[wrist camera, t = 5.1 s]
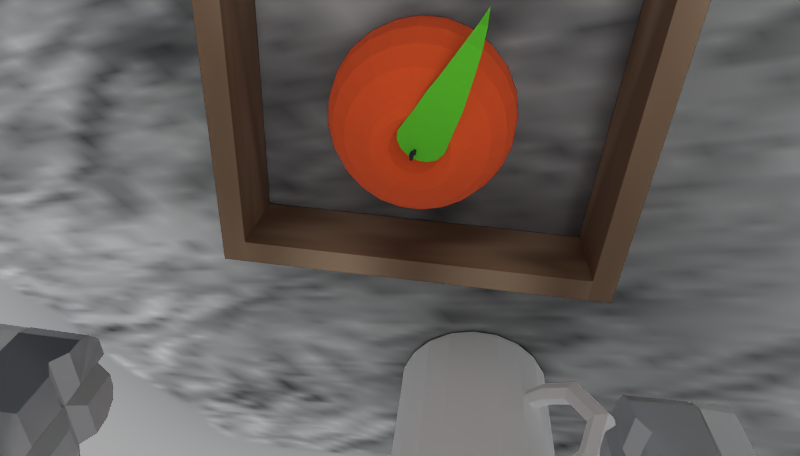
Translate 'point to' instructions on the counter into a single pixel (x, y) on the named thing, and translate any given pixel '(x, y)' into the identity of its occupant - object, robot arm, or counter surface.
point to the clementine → (423, 111)
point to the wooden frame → (427, 240)
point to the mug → (485, 402)
